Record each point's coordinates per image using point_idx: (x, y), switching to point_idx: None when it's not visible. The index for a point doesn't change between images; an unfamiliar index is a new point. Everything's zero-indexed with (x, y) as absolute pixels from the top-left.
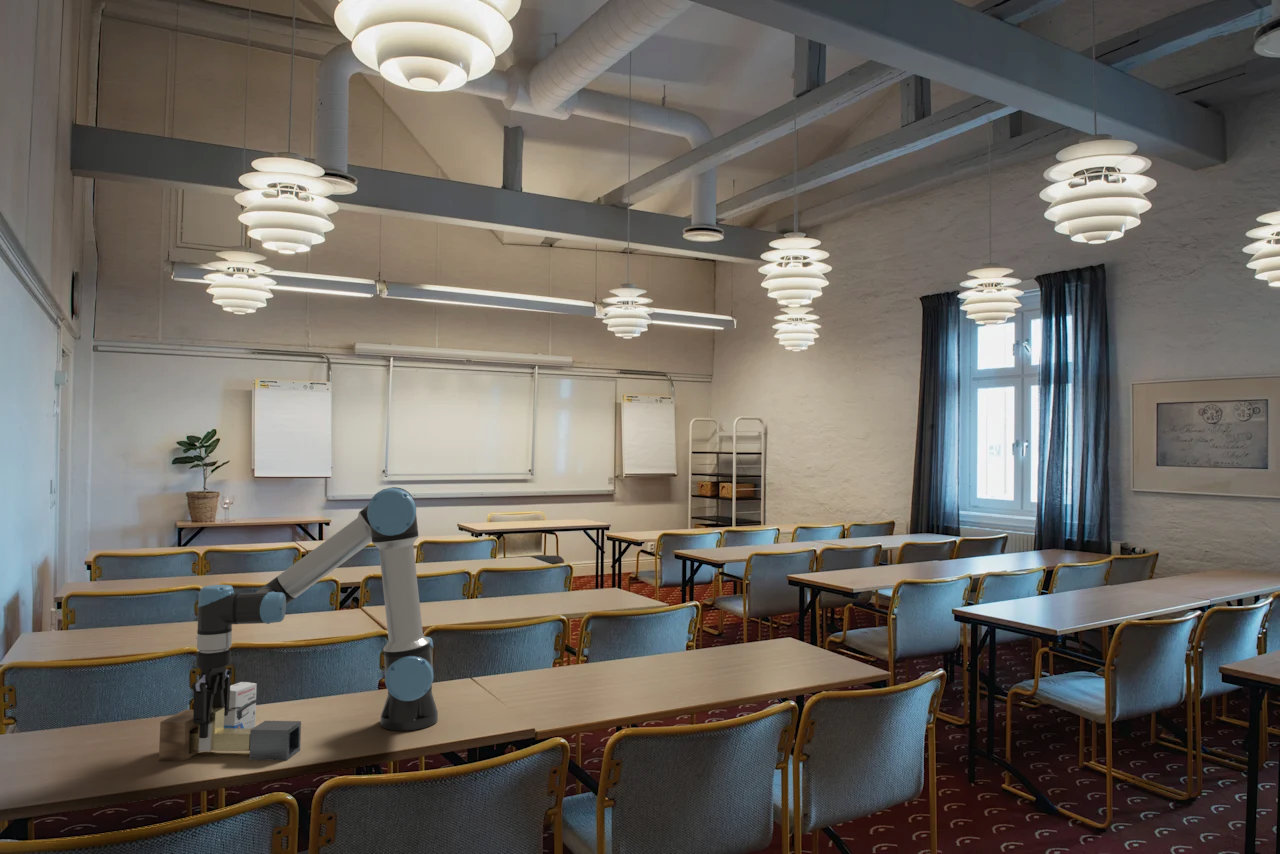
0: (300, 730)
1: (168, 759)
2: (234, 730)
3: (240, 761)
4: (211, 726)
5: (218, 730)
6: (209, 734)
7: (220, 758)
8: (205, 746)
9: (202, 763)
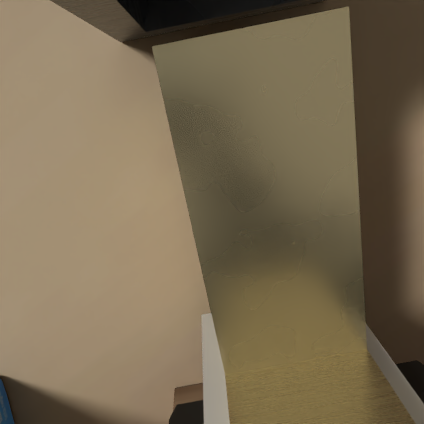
0: None
1: None
2: (259, 255)
3: (357, 47)
4: (418, 420)
5: (311, 365)
6: (396, 368)
7: None
8: None
9: (405, 248)
